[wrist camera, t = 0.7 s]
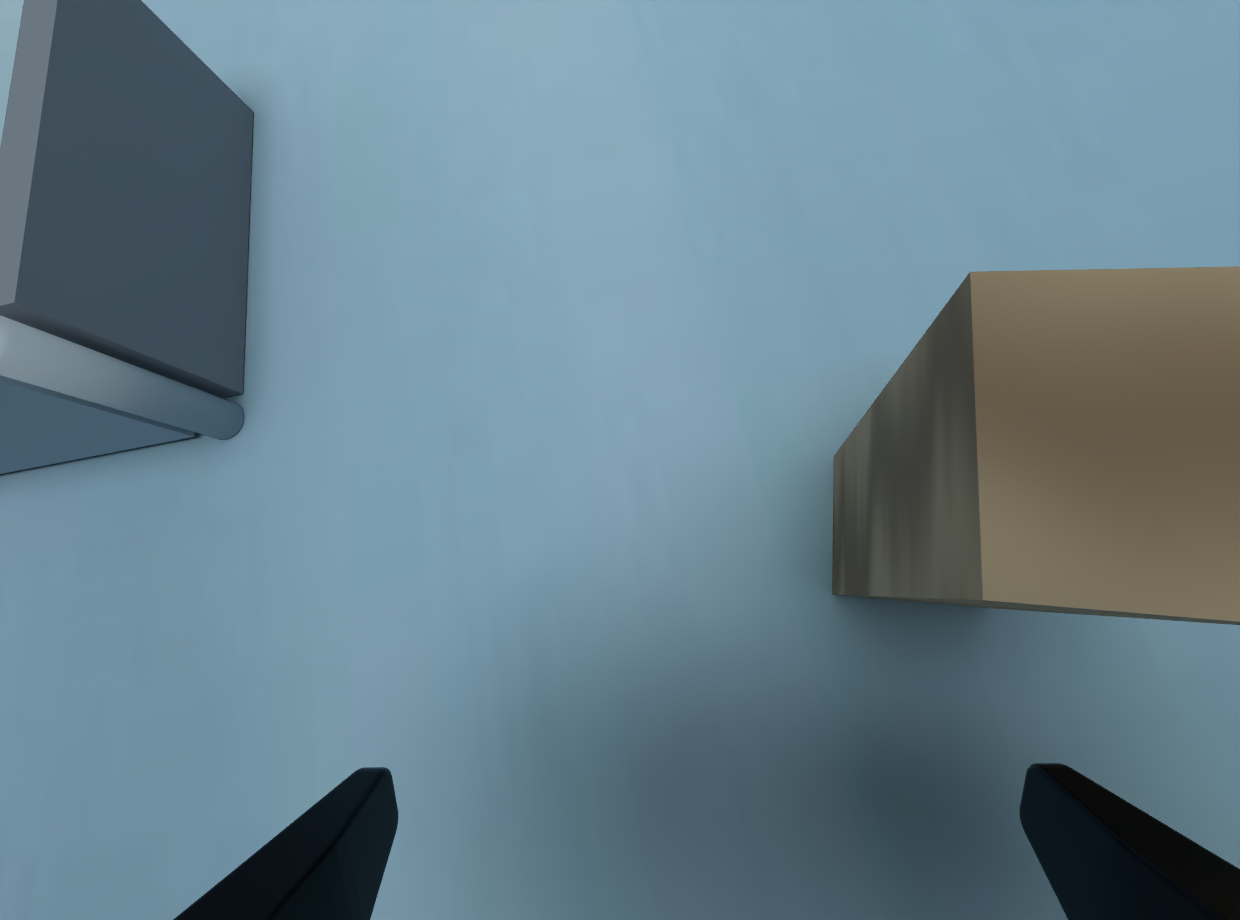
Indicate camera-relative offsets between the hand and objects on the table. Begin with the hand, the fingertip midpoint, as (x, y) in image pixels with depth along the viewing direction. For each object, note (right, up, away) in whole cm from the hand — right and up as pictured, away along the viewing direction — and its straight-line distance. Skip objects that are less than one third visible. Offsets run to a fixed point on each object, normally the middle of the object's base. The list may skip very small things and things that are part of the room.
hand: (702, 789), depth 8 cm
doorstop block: (+9, +2, +12) cm, 15 cm away
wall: (-20, +14, +21) cm, 32 cm away
